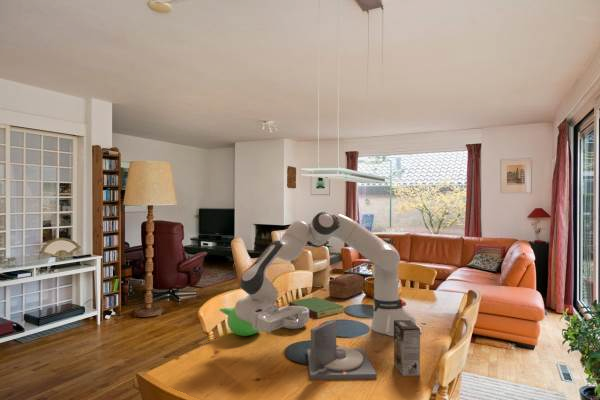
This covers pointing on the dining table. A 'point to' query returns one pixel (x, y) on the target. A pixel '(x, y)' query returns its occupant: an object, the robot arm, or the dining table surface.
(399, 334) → the coffee box
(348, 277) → the bread
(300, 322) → the paper bowls
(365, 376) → the dial board
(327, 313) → the hardcover book
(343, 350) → the dial
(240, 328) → the green teapot
